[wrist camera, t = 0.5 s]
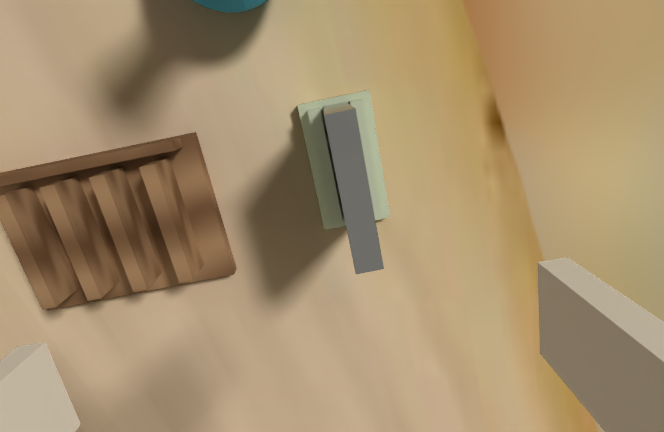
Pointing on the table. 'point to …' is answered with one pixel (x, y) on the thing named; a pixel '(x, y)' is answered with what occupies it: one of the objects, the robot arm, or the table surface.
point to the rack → (116, 222)
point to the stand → (323, 159)
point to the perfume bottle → (231, 5)
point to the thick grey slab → (353, 186)
